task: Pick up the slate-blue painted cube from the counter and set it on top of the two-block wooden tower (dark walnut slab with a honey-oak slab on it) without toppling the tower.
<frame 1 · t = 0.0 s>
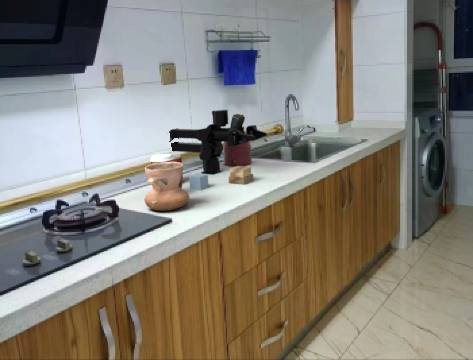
hand: (260, 135, 196), 17 cm above the counter, tool horizontal, fingers open, 9 cm apart
tower mid: (240, 175, 192), point 3 cm above the counter, touching tower base
canister: (238, 164, 229), on the counter
tower base: (241, 183, 193), on the counter, touching tower mid
coffee cup: (165, 197, 176), on the counter
canned food: (173, 183, 197), on the counter
ceramic jug: (168, 207, 163), on the counter
block: (199, 188, 186), on the counter
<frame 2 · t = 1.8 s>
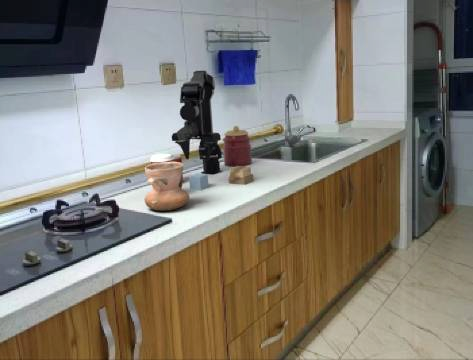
hand: (197, 159, 184), 11 cm above the counter, tool pointing down, fingers open, 9 cm apart
nothing on the counter moved.
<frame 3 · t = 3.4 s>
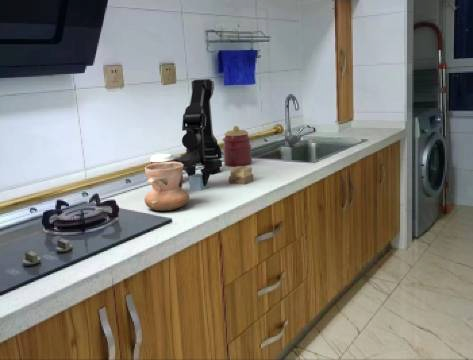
hand: (199, 185, 186), 1 cm above the counter, tool pointing down, fingers closed on block, 5 cm apart
block: (199, 188, 186), on the counter, touching gripper
everything else where it was.
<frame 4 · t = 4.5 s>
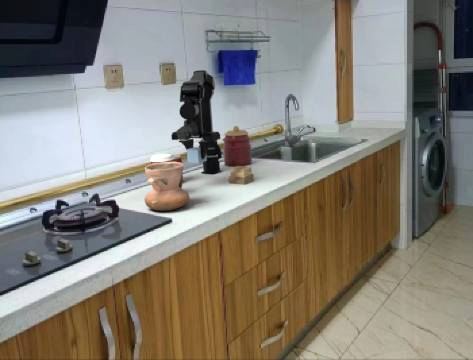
hand: (197, 158, 184), 11 cm above the counter, tool pointing down, fingers closed on block, 5 cm apart
block: (197, 161, 184), point 10 cm above the counter, touching gripper
everything else where it was.
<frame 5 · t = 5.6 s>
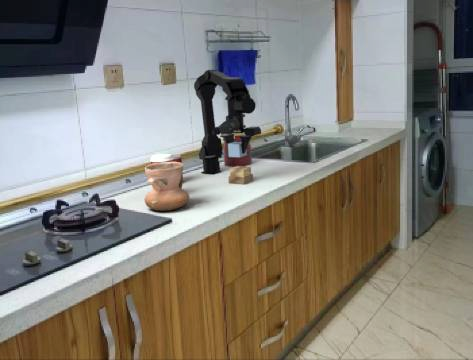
hand: (237, 153, 190), 11 cm above the counter, tool pointing down, fingers closed on block, 5 cm apart
block: (237, 155, 190), point 10 cm above the counter, touching gripper
everything else where it was.
when the fingers open (8 cm above the counter, at t = 6.9 s): block drops 1 cm, point 6 cm above the counter.
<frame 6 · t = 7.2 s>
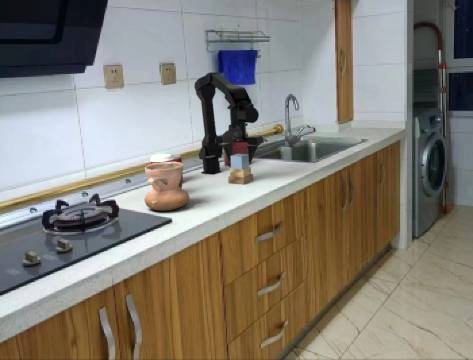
hand: (240, 161, 191), 8 cm above the counter, tool pointing down, fingers open, 9 cm apart
block: (240, 167, 191), point 6 cm above the counter
everything else where it was.
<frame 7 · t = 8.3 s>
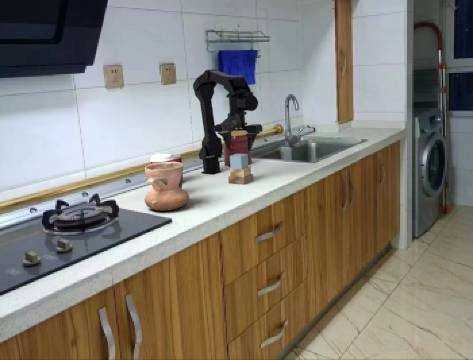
hand: (239, 150, 191), 12 cm above the counter, tool pointing down, fingers open, 9 cm apart
tower mid: (240, 175, 192), point 3 cm above the counter, touching block, tower base
block: (239, 167, 191), point 6 cm above the counter, touching tower mid
everything else where it was.
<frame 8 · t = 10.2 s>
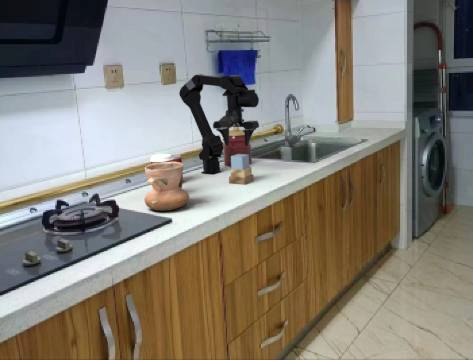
hand: (236, 145, 201), 13 cm above the counter, tool pointing down, fingers open, 9 cm apart
tower mid: (241, 175, 192), point 2 cm above the counter, touching block
tower base: (241, 183, 192), on the counter
everything else where it was.
at the end: block 0.3 cm off-centre on the tower mid, point 3.0 cm above the tower mid's base; tower mid tilted 0°; block tilted 0° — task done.
